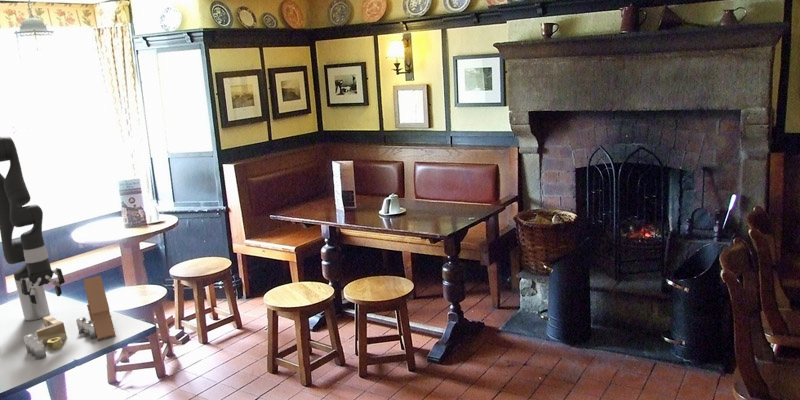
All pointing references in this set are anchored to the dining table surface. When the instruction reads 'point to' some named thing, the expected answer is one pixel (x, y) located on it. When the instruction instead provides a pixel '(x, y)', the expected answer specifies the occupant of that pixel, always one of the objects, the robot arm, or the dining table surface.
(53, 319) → the wooden l-bracket
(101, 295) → the tan tall stepped post
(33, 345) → the spacers
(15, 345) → the dining table surface
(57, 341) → the nut
